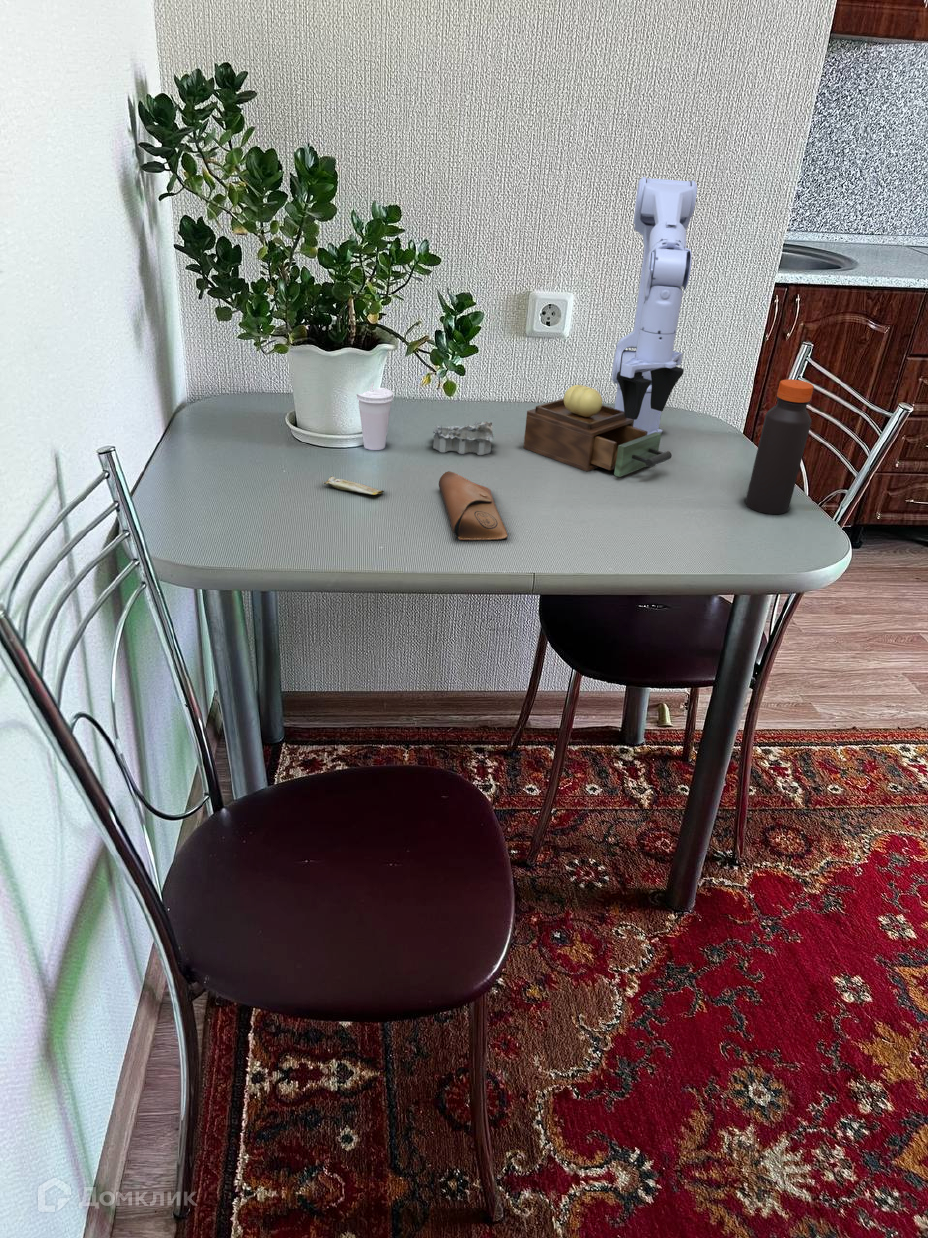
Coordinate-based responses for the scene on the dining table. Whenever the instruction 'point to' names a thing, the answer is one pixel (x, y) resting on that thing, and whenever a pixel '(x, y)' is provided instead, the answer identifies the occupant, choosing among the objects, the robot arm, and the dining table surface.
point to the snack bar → (351, 486)
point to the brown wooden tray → (545, 410)
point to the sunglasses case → (471, 509)
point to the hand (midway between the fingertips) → (644, 413)
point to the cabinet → (566, 436)
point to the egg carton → (464, 438)
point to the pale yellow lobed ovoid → (583, 400)
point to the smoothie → (375, 416)
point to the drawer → (627, 450)
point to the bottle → (780, 449)
